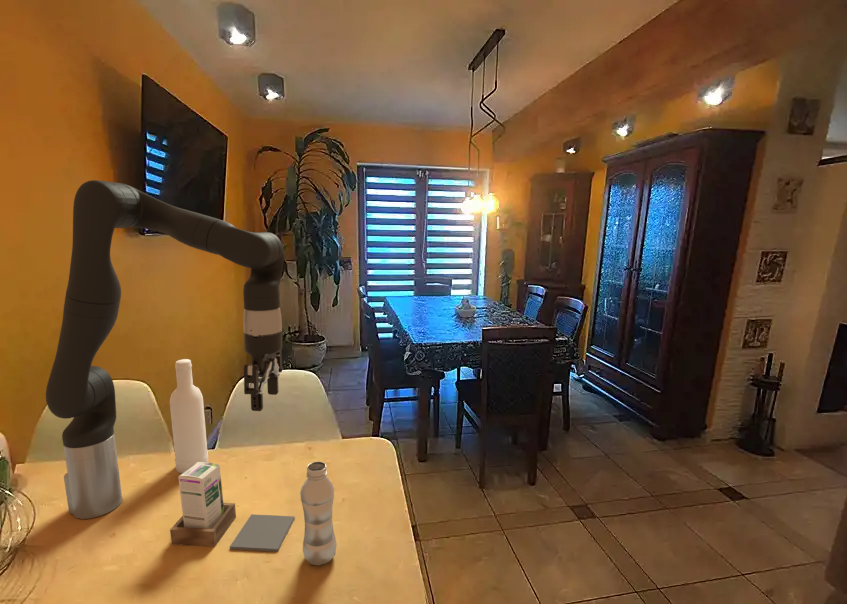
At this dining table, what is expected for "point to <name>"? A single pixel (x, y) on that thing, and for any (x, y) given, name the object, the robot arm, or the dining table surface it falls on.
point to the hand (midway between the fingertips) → (265, 401)
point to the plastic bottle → (318, 515)
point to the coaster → (263, 533)
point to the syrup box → (201, 495)
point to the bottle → (187, 419)
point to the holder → (203, 530)
